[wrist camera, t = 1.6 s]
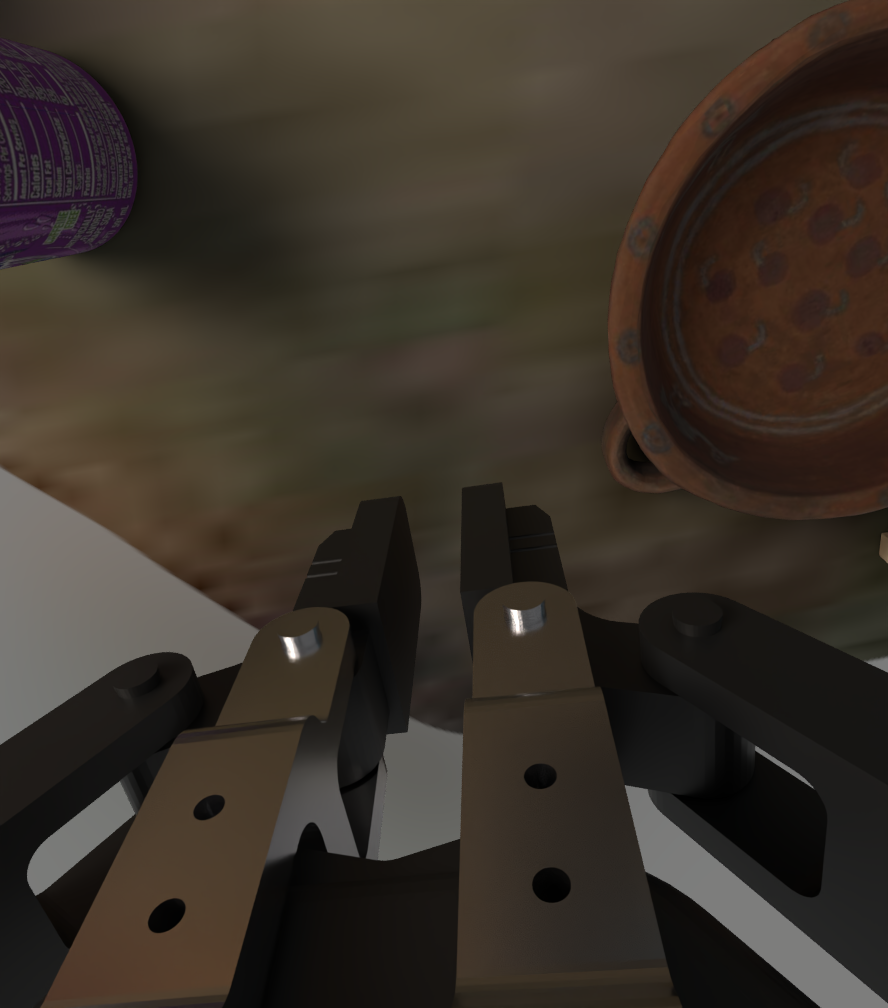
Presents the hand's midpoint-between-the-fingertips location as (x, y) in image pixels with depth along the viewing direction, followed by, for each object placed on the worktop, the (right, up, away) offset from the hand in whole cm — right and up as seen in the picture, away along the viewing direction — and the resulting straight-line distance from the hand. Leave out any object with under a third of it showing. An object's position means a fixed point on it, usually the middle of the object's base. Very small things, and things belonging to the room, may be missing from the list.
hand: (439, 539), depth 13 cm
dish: (+15, +10, +16) cm, 24 cm away
